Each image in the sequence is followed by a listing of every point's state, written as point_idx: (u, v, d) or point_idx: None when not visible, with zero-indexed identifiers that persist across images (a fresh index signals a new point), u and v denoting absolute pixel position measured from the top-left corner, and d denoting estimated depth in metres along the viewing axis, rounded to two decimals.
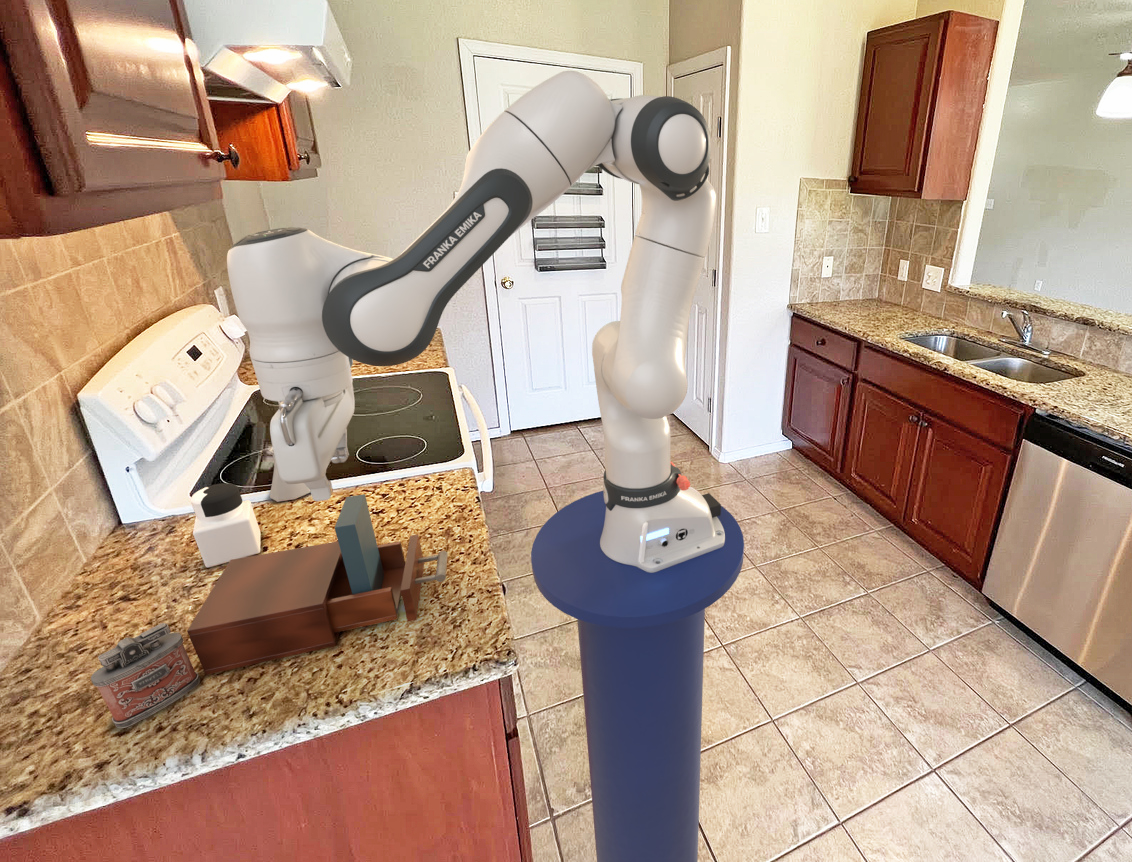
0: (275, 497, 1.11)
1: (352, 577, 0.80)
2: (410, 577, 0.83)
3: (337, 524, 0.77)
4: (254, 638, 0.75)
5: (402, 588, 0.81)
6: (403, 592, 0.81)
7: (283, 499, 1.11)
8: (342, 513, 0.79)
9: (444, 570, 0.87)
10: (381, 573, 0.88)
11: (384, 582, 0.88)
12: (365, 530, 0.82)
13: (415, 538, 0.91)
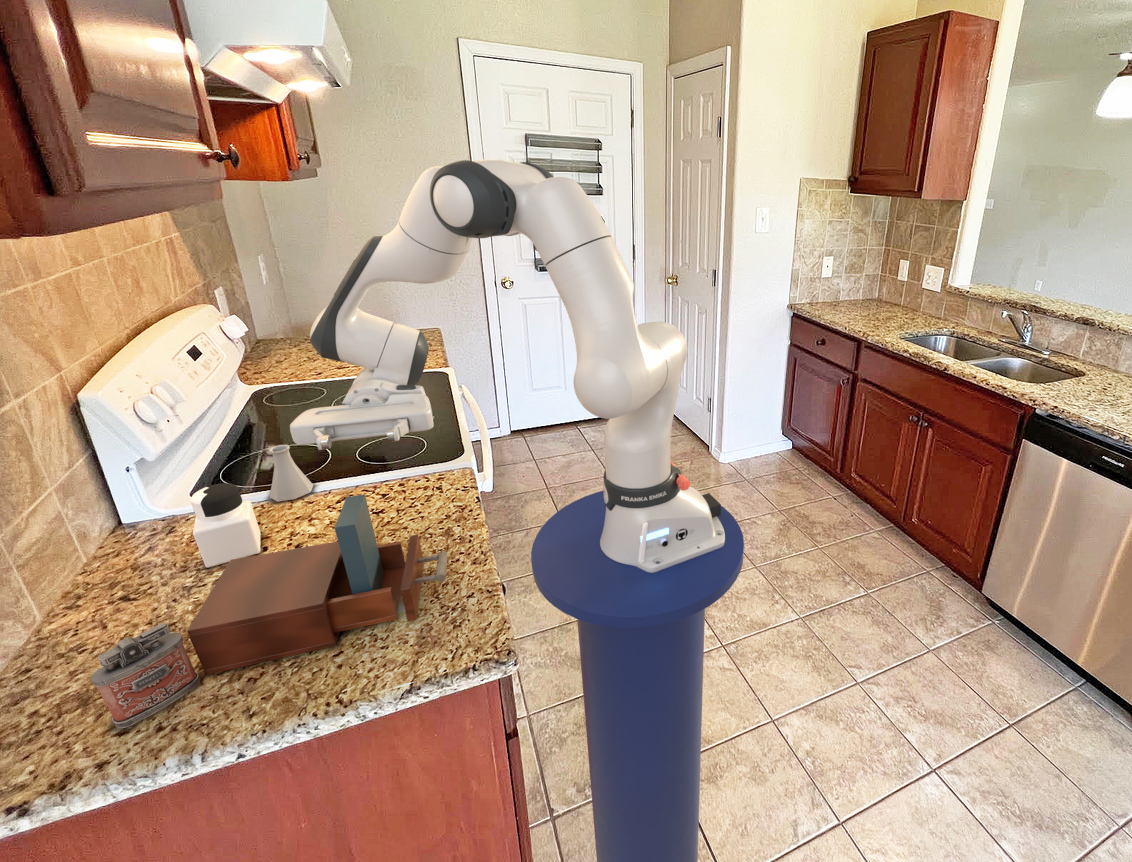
0: (275, 497, 1.11)
1: (352, 577, 0.80)
2: (410, 577, 0.83)
3: (337, 524, 0.77)
4: (254, 638, 0.75)
5: (402, 588, 0.81)
6: (403, 592, 0.81)
7: (283, 499, 1.11)
8: (342, 513, 0.79)
9: (444, 570, 0.87)
10: (381, 573, 0.88)
11: (384, 582, 0.88)
12: (365, 530, 0.82)
13: (415, 538, 0.91)
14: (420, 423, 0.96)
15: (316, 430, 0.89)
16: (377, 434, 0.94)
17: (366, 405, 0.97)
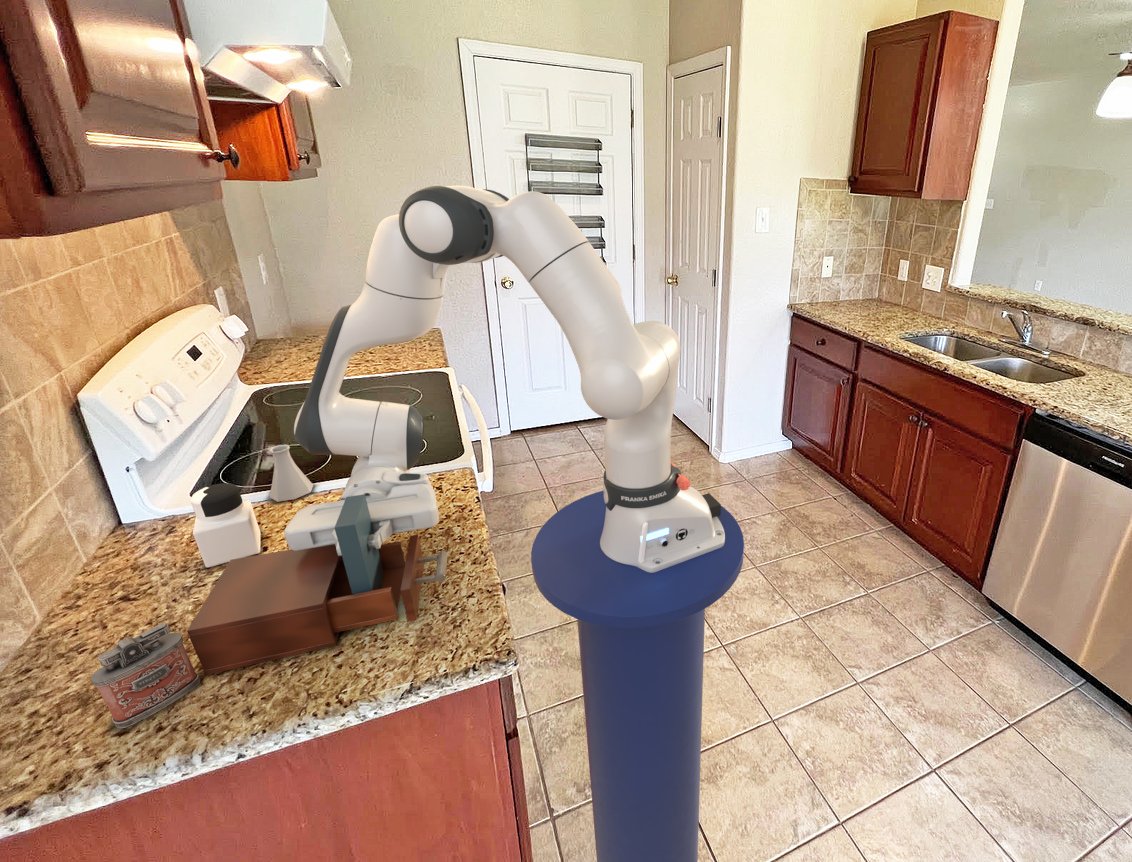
0: (275, 497, 1.11)
1: (352, 577, 0.80)
2: (410, 577, 0.83)
3: (337, 524, 0.77)
4: (254, 638, 0.75)
5: (402, 588, 0.81)
6: (403, 592, 0.81)
7: (283, 499, 1.11)
8: (342, 513, 0.79)
9: (444, 570, 0.87)
10: (381, 573, 0.88)
11: (384, 582, 0.88)
12: (365, 530, 0.82)
13: (415, 538, 0.91)
14: (425, 520, 0.89)
15: (335, 532, 0.83)
16: None
17: (367, 500, 0.90)
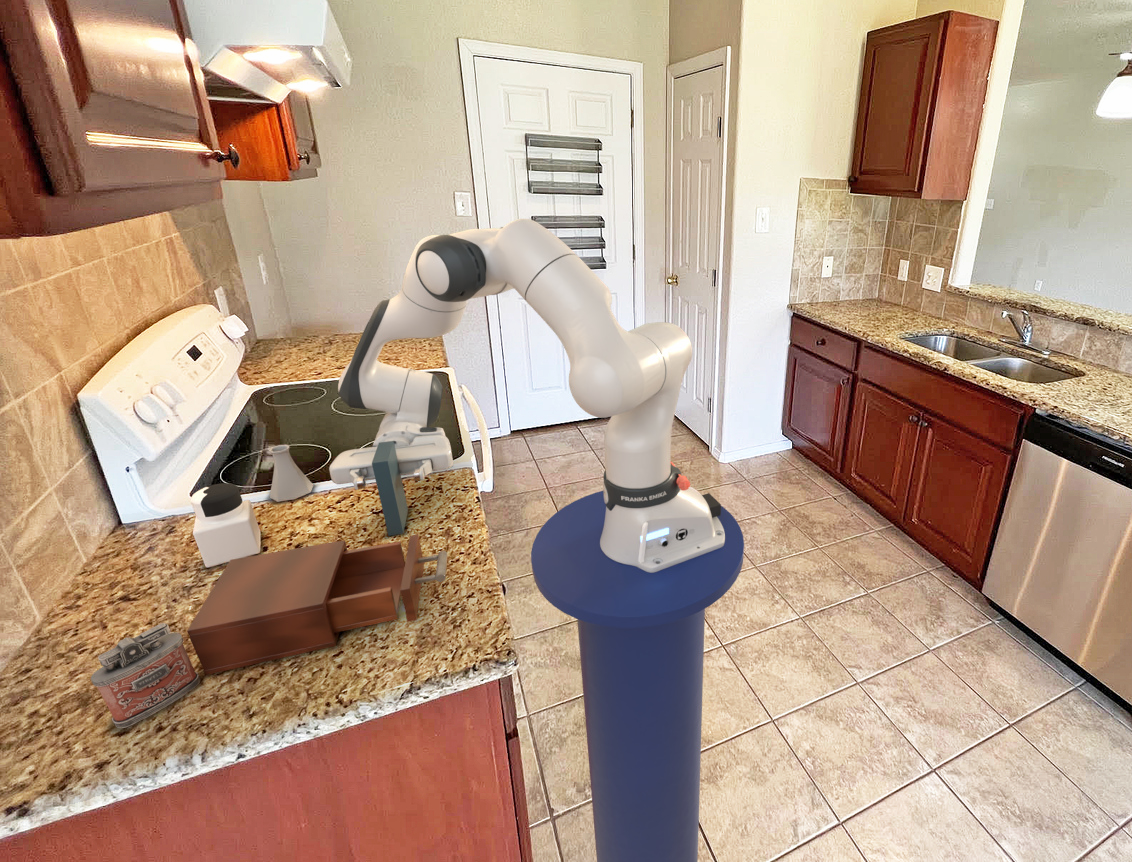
0: (275, 497, 1.11)
1: (385, 505, 1.00)
2: (410, 577, 0.83)
3: (373, 460, 0.97)
4: (254, 638, 0.75)
5: (402, 588, 0.81)
6: (403, 592, 0.81)
7: (283, 499, 1.11)
8: (377, 453, 0.99)
9: (444, 570, 0.87)
10: (406, 507, 1.08)
11: (384, 582, 0.88)
12: (394, 468, 1.02)
13: (415, 538, 0.91)
14: (442, 463, 1.09)
15: (352, 471, 1.02)
16: (405, 473, 1.07)
17: None
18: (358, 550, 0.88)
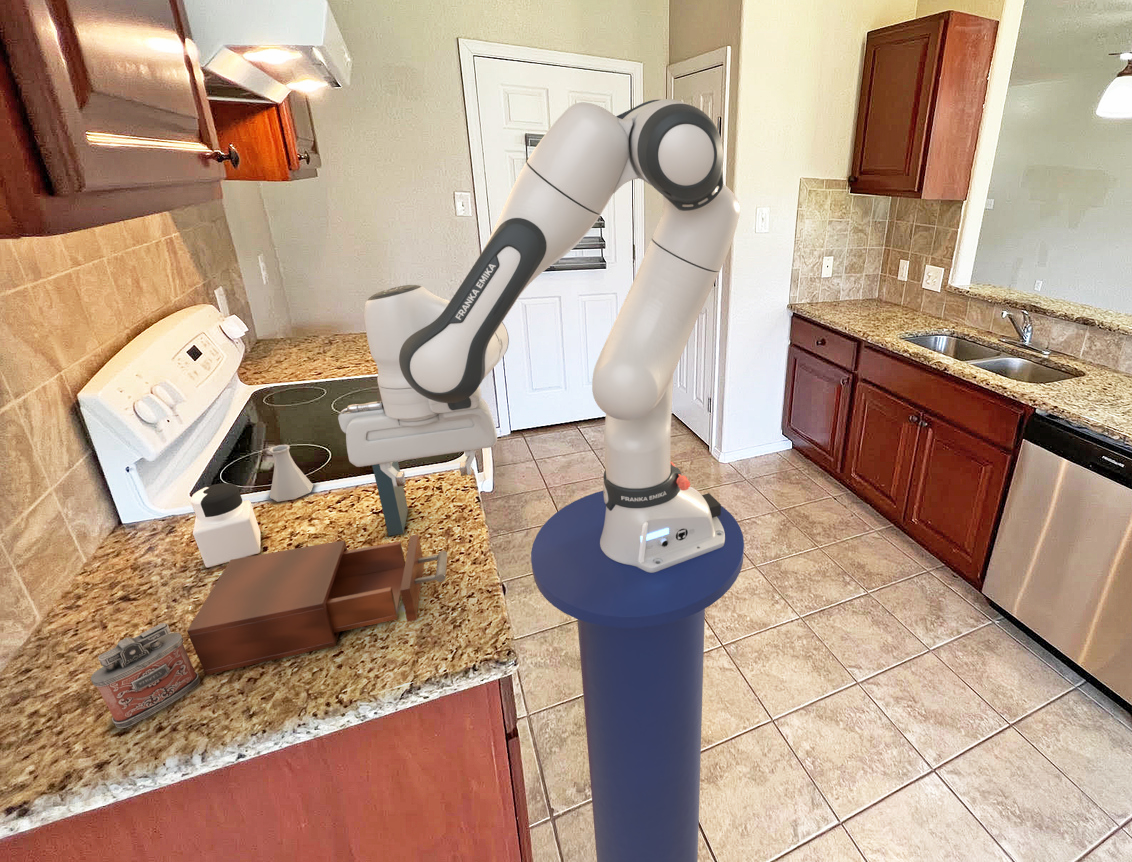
0: (275, 497, 1.11)
1: (385, 505, 1.00)
2: (410, 577, 0.83)
3: None
4: (254, 638, 0.75)
5: (402, 588, 0.81)
6: (403, 592, 0.81)
7: (283, 499, 1.11)
8: None
9: (444, 570, 0.87)
10: (406, 507, 1.08)
11: (384, 582, 0.88)
12: None
13: (415, 538, 0.91)
14: None
15: (383, 468, 0.84)
16: None
17: None
18: (358, 550, 0.88)
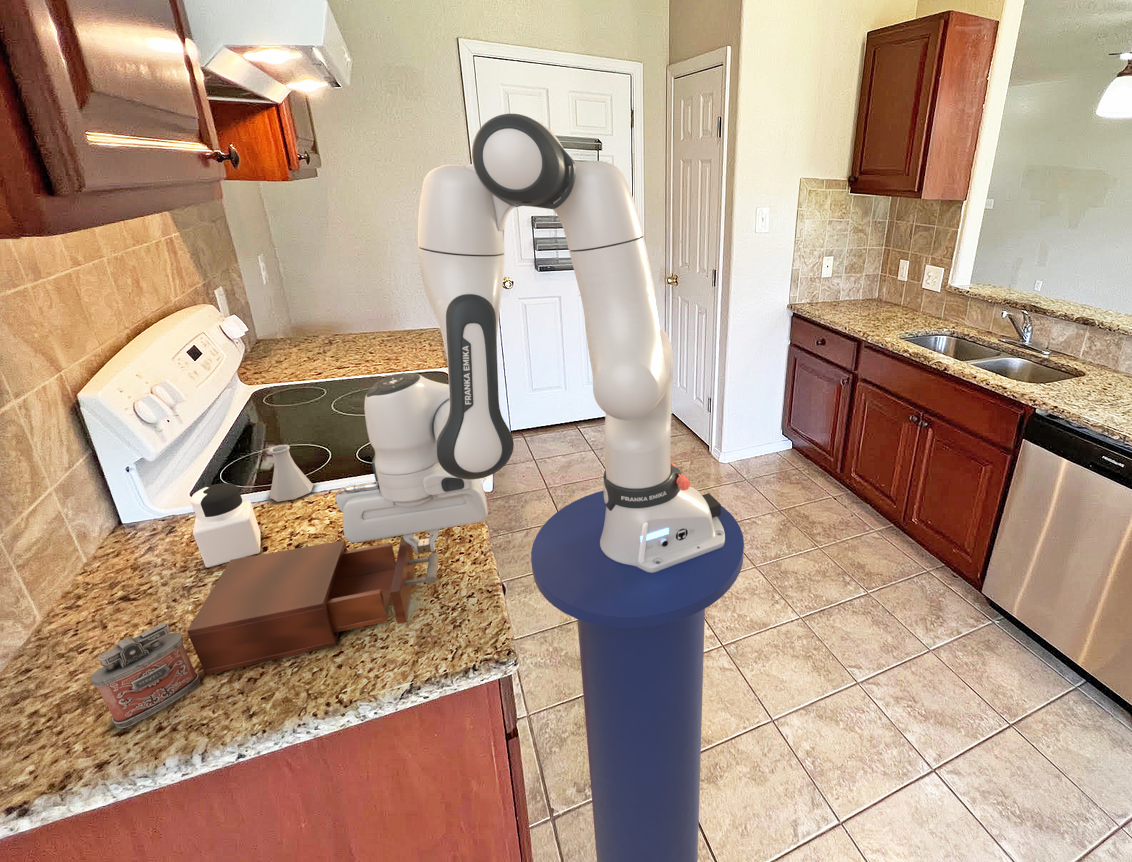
0: (275, 497, 1.11)
1: None
2: (400, 579, 0.82)
3: (373, 460, 0.97)
4: (254, 638, 0.75)
5: (392, 590, 0.80)
6: (392, 594, 0.80)
7: (283, 499, 1.11)
8: None
9: (435, 572, 0.86)
10: None
11: (374, 584, 0.88)
12: None
13: None
14: None
15: (406, 538, 0.90)
16: None
17: None
18: (348, 552, 0.88)
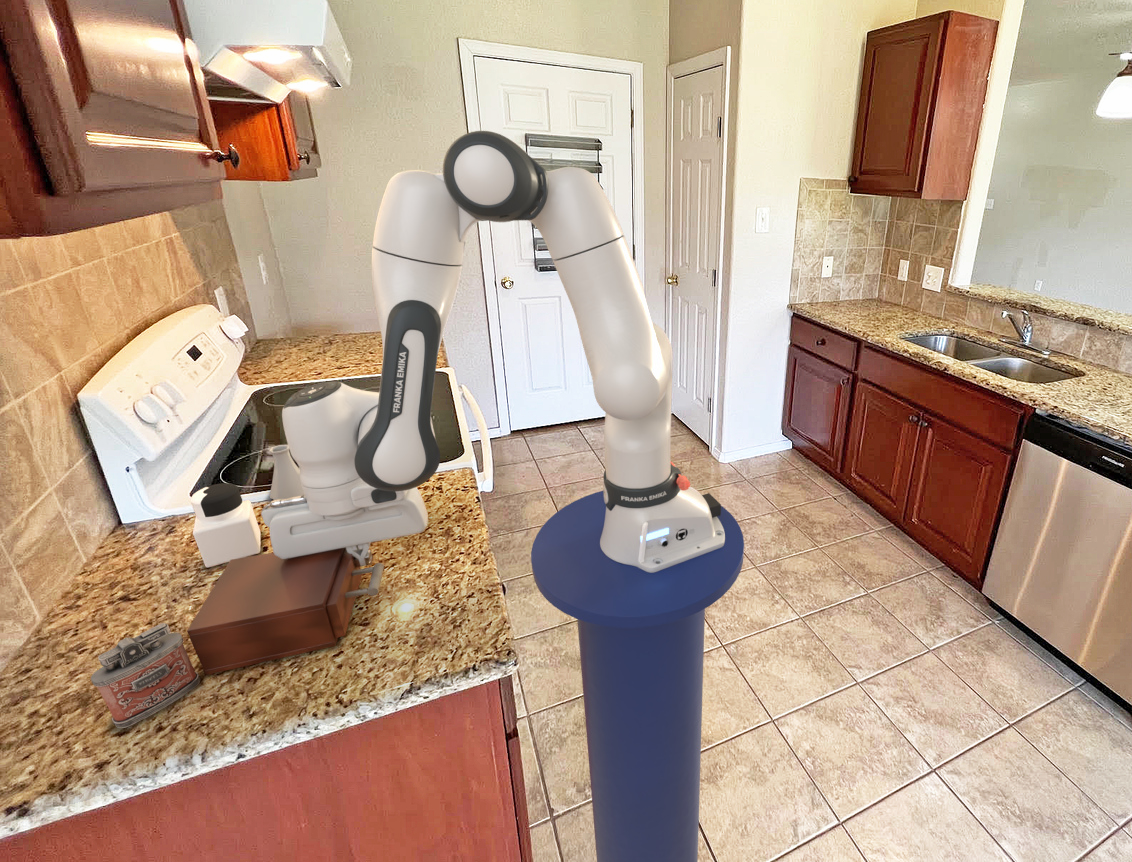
0: (275, 497, 1.11)
1: None
2: (338, 591, 0.80)
3: None
4: (254, 638, 0.75)
5: (328, 603, 0.78)
6: (328, 607, 0.77)
7: None
8: None
9: (377, 583, 0.84)
10: None
11: None
12: None
13: None
14: None
15: (350, 550, 0.87)
16: None
17: None
18: None
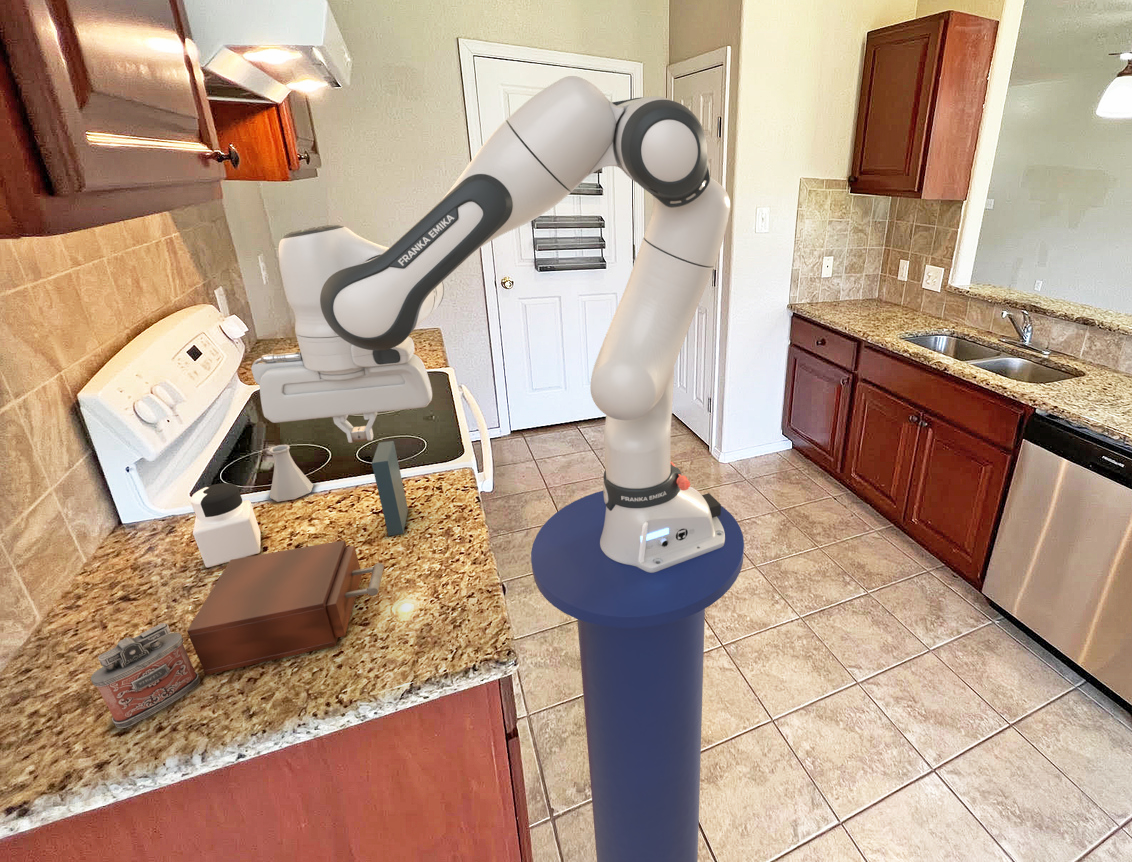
0: (275, 497, 1.11)
1: (385, 505, 1.00)
2: (338, 591, 0.80)
3: (373, 460, 0.97)
4: (254, 638, 0.75)
5: (328, 603, 0.78)
6: (328, 607, 0.77)
7: (283, 499, 1.11)
8: (377, 453, 0.99)
9: (377, 583, 0.84)
10: (406, 507, 1.08)
11: None
12: (394, 468, 1.02)
13: (350, 550, 0.88)
14: None
15: (337, 421, 0.80)
16: None
17: None
18: None
